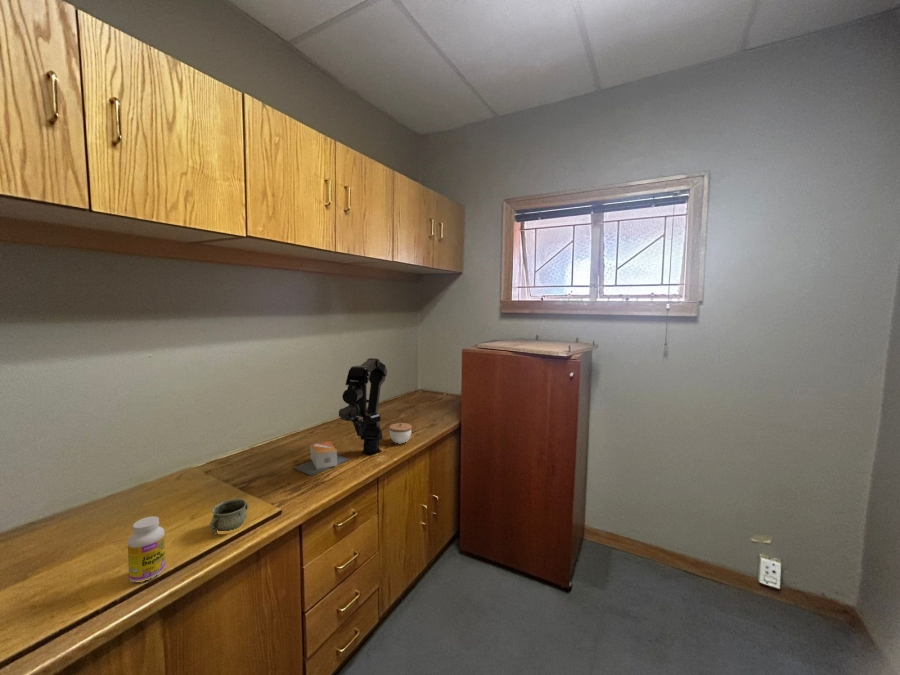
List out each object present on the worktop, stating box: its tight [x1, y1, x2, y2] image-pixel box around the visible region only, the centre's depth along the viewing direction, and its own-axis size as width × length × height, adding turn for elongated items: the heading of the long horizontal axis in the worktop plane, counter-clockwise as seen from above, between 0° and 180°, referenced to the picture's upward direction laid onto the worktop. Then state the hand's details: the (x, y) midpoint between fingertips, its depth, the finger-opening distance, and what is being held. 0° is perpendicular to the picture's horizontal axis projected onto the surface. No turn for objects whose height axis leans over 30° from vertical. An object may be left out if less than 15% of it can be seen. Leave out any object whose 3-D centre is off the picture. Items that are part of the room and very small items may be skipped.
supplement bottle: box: [127, 516, 166, 583], centre depth 84 cm, size 7×7×13 cm
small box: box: [310, 440, 338, 469], centre depth 147 cm, size 8×6×13 cm
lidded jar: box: [389, 422, 413, 445], centre depth 172 cm, size 11×11×9 cm
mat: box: [294, 454, 350, 477], centre depth 146 cm, size 18×11×1 cm, turn 146°
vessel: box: [209, 498, 249, 535], centre depth 103 cm, size 12×9×6 cm
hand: (359, 436), depth 143 cm, fingers closed
